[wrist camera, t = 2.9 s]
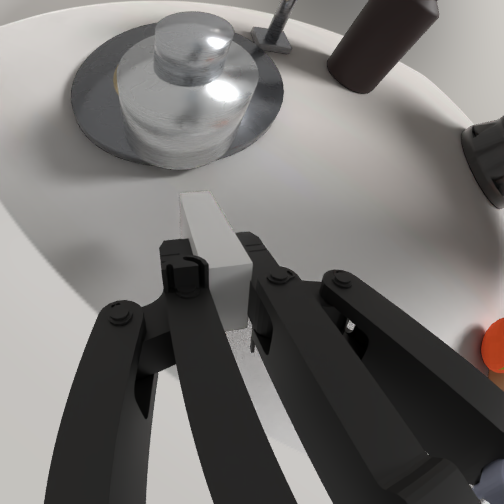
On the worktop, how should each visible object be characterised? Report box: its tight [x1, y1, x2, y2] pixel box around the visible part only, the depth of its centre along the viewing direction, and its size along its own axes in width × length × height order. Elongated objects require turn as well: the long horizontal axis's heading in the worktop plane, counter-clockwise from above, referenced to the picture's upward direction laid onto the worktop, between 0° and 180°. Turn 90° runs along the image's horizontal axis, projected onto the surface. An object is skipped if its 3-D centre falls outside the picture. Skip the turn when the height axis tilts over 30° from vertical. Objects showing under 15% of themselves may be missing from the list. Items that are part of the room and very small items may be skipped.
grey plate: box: [71, 23, 284, 166], centre depth 22 cm, size 20×20×1 cm
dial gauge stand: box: [251, 0, 297, 54], centre depth 20 cm, size 5×8×16 cm, turn 10°
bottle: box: [327, 0, 439, 93], centre depth 21 cm, size 7×7×20 cm
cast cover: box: [117, 11, 259, 170], centre depth 16 cm, size 9×9×9 cm
